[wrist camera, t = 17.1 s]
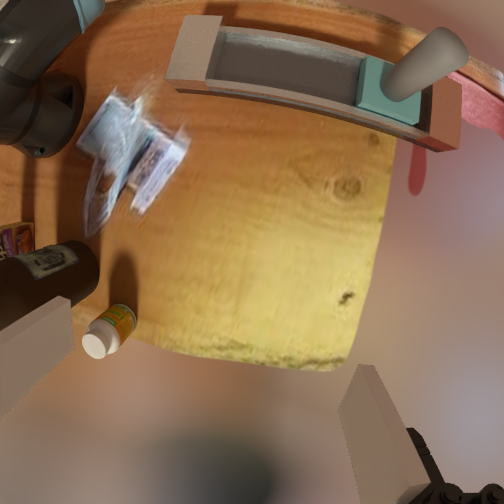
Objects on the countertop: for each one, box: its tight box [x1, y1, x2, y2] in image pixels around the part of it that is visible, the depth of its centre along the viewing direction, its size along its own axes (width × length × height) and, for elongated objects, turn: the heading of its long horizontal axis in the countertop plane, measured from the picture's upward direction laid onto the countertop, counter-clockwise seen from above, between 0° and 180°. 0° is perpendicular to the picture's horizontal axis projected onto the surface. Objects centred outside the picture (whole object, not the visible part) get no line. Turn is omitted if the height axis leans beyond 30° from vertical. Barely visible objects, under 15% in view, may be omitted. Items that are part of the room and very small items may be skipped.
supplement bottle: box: [82, 304, 137, 359], centre depth 39 cm, size 5×5×10 cm
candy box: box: [0, 222, 34, 260], centre depth 34 cm, size 9×4×15 cm, turn 173°
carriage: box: [355, 27, 469, 126], centre depth 24 cm, size 8×7×17 cm
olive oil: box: [0, 241, 99, 331], centre depth 30 cm, size 11×11×25 cm
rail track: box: [165, 15, 462, 152], centre depth 31 cm, size 38×10×6 cm, turn 79°
